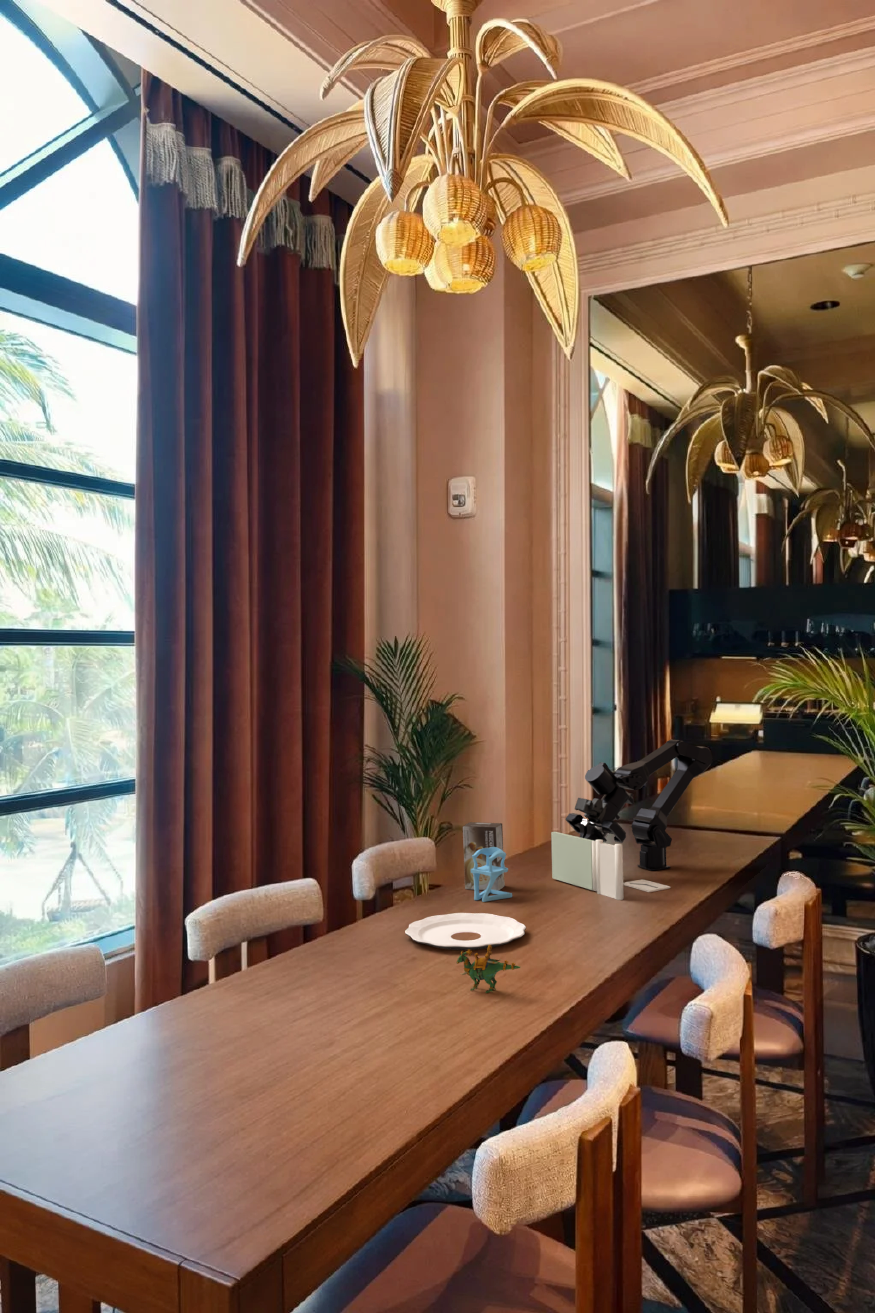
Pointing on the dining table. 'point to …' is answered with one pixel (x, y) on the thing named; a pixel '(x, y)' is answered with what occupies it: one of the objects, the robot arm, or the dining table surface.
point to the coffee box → (474, 840)
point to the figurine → (483, 968)
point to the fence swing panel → (574, 860)
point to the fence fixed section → (609, 869)
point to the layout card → (646, 885)
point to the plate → (465, 930)
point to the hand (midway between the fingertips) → (577, 853)
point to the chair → (489, 874)
